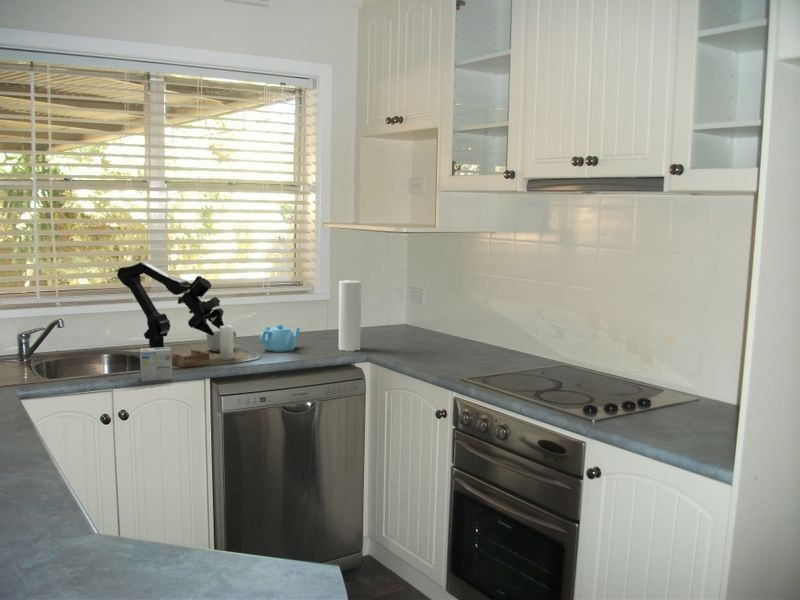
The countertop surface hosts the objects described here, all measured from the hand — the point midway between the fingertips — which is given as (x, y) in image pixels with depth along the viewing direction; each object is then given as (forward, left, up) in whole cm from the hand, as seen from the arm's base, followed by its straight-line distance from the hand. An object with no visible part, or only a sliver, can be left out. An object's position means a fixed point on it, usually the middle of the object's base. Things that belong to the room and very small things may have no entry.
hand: (219, 333), depth 308 cm
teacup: (-13, +10, -10) cm, 20 cm away
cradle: (+1, -15, -10) cm, 18 cm away
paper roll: (+3, +1, -10) cm, 11 cm away
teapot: (+2, +29, -10) cm, 31 cm away
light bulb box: (+15, -37, -10) cm, 41 cm away
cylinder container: (+22, +51, -10) cm, 57 cm away
